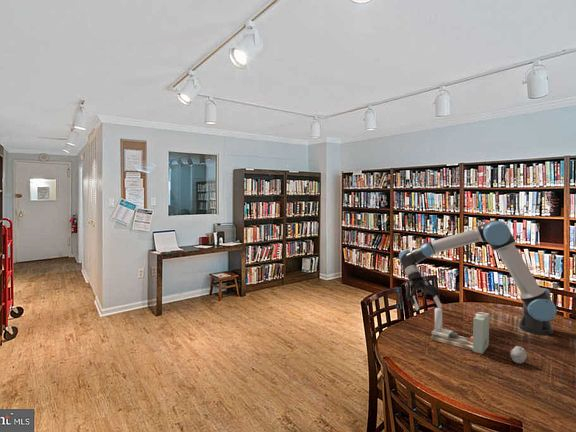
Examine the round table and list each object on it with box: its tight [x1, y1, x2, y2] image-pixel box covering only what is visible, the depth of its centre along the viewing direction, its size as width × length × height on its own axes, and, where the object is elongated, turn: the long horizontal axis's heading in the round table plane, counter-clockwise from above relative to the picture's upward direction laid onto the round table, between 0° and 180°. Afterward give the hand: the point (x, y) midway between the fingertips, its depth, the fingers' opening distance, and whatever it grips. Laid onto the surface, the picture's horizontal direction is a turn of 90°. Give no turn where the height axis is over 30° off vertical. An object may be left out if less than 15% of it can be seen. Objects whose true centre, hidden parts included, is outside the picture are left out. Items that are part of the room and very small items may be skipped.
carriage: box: [431, 307, 459, 338], centre depth 177 cm, size 11×8×12 cm
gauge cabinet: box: [472, 311, 490, 354], centre depth 166 cm, size 5×12×17 cm, turn 137°
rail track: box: [430, 333, 473, 351], centre depth 174 cm, size 20×10×2 cm, turn 47°
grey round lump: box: [509, 345, 528, 365], centre depth 152 cm, size 6×7×7 cm
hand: (429, 308), depth 186 cm, fingers open, 13 cm apart
